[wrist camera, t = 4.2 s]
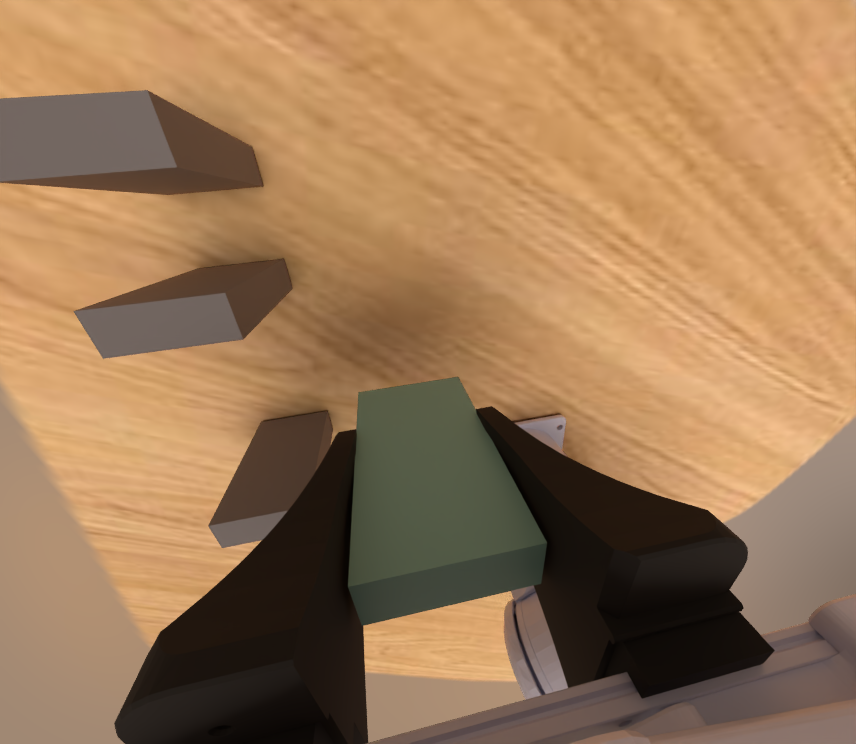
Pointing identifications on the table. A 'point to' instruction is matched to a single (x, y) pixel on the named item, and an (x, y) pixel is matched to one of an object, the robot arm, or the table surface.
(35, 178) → the domino
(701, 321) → the table surface
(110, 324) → the domino
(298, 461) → the domino
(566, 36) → the table surface
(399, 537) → the teal domino
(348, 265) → the table surface
